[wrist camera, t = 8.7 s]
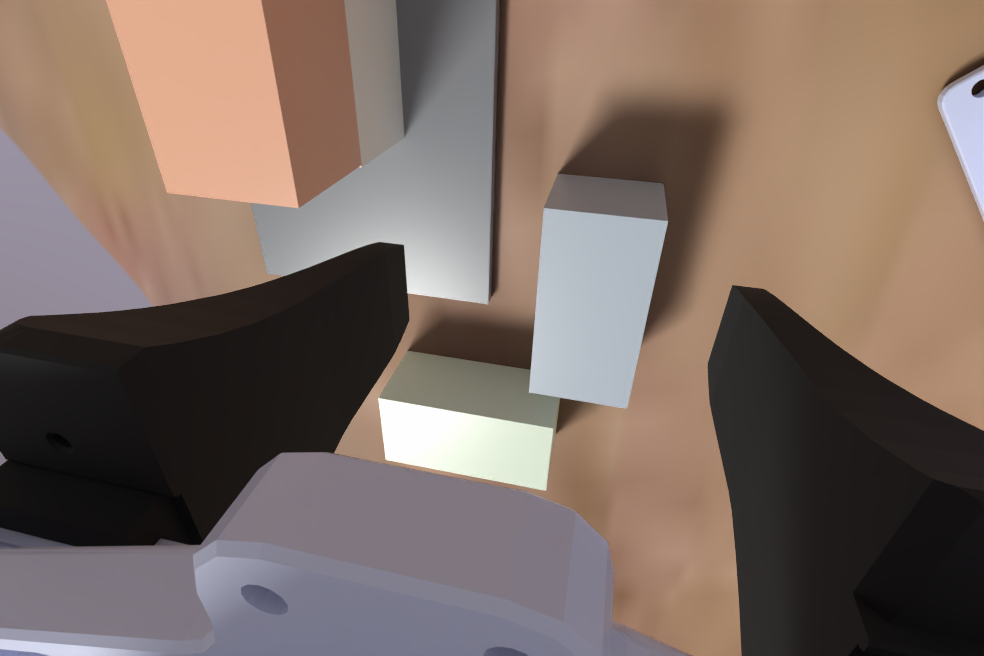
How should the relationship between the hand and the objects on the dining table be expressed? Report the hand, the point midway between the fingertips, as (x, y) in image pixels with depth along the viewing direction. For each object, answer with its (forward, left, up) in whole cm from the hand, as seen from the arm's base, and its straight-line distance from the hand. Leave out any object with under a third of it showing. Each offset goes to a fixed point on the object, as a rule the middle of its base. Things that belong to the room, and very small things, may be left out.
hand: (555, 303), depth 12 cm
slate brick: (+2, +4, -11) cm, 11 cm away
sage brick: (+11, +7, -11) cm, 17 cm away
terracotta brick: (+4, -10, -6) cm, 12 cm away
